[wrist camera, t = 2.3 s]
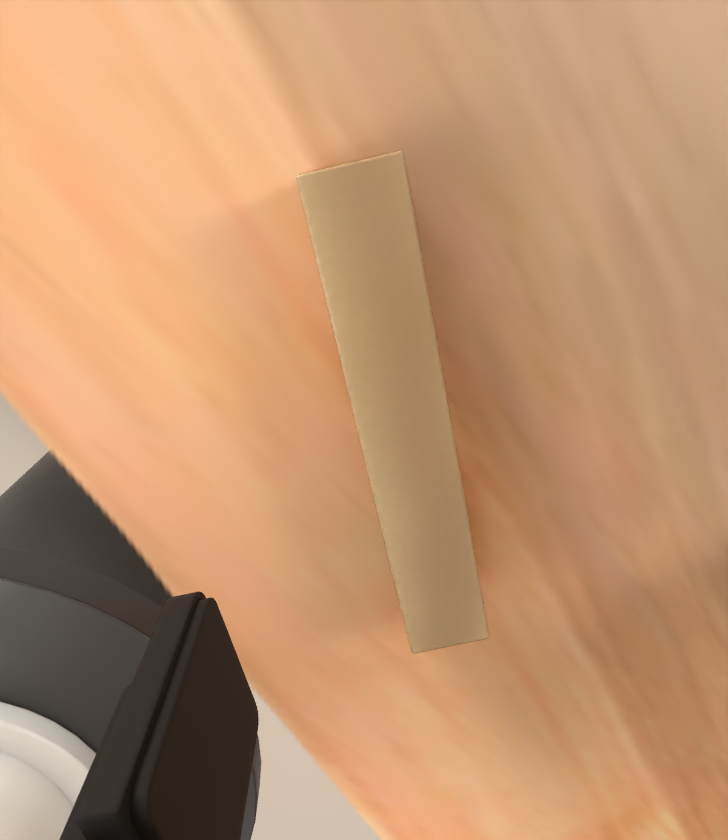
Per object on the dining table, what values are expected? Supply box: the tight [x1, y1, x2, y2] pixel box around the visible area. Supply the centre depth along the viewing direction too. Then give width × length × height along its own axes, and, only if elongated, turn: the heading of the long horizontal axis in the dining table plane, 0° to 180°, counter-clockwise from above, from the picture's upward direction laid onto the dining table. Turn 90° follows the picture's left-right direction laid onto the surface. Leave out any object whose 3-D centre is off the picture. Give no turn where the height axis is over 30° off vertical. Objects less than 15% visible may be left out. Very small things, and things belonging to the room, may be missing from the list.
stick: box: [297, 151, 489, 654], centre depth 19 cm, size 3×16×3 cm, turn 12°
